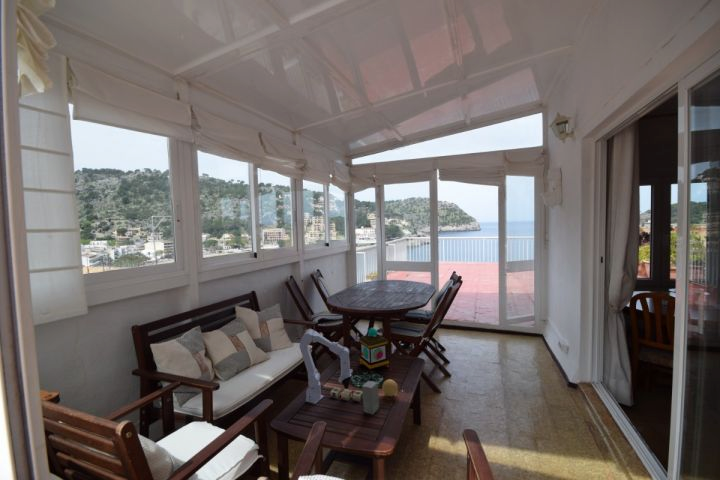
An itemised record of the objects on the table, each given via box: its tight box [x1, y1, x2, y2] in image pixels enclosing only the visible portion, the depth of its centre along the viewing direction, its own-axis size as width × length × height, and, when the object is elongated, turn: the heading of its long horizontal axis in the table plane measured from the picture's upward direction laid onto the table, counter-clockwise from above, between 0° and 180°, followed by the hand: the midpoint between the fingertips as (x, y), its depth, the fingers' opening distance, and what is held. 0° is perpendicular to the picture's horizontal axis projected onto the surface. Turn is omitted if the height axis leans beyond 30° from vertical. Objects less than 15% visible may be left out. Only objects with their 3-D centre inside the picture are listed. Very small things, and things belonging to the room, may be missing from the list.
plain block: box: [340, 388, 353, 401], centre depth 201 cm, size 5×5×4 cm
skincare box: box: [361, 380, 380, 415], centre depth 187 cm, size 8×7×16 cm
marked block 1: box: [330, 387, 342, 399], centre depth 204 cm, size 5×5×4 cm
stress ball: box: [381, 378, 399, 397], centre depth 201 cm, size 10×10×10 cm
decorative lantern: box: [358, 327, 390, 373], centre depth 242 cm, size 20×20×30 cm
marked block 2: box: [352, 390, 363, 402], centre depth 199 cm, size 5×5×4 cm
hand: (346, 388), depth 201 cm, fingers closed
